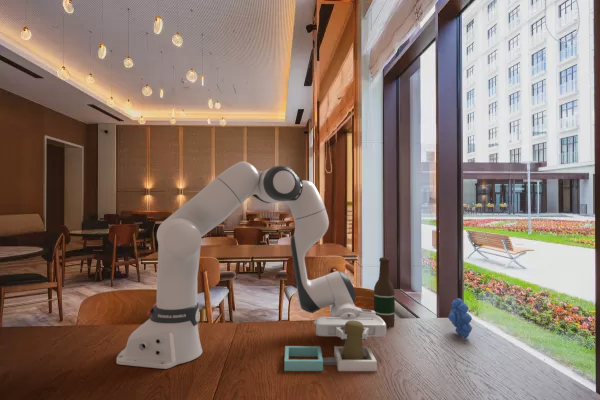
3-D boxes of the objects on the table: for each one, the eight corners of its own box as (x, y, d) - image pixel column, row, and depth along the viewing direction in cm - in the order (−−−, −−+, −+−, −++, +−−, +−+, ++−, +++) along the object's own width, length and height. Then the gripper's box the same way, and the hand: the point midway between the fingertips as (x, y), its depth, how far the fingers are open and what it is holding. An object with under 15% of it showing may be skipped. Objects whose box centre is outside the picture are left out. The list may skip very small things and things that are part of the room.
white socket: (322, 371, 94) (323, 361, 94) (320, 355, 104) (320, 346, 104) (376, 371, 94) (376, 361, 94) (368, 355, 104) (368, 346, 104)
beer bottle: (397, 323, 133) (398, 257, 133) (391, 329, 126) (391, 260, 126) (377, 319, 137) (377, 255, 137) (369, 325, 130) (370, 258, 130)
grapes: (440, 329, 126) (440, 295, 127) (459, 329, 127) (459, 295, 127) (456, 342, 115) (456, 304, 115) (477, 342, 115) (477, 304, 115)
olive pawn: (364, 368, 96) (365, 326, 96) (341, 365, 97) (342, 324, 97) (364, 358, 102) (365, 319, 102) (342, 356, 103) (344, 317, 103)
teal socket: (284, 370, 94) (284, 361, 94) (285, 354, 104) (285, 346, 104) (322, 371, 94) (323, 361, 94) (320, 355, 104) (320, 346, 104)
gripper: (313, 309, 112) (316, 324, 98) (379, 310, 112) (391, 325, 99) (313, 330, 112) (315, 348, 98) (379, 331, 112) (391, 348, 98)
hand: (354, 336), depth 98 cm, fingers closed on olive pawn, 4 cm apart
